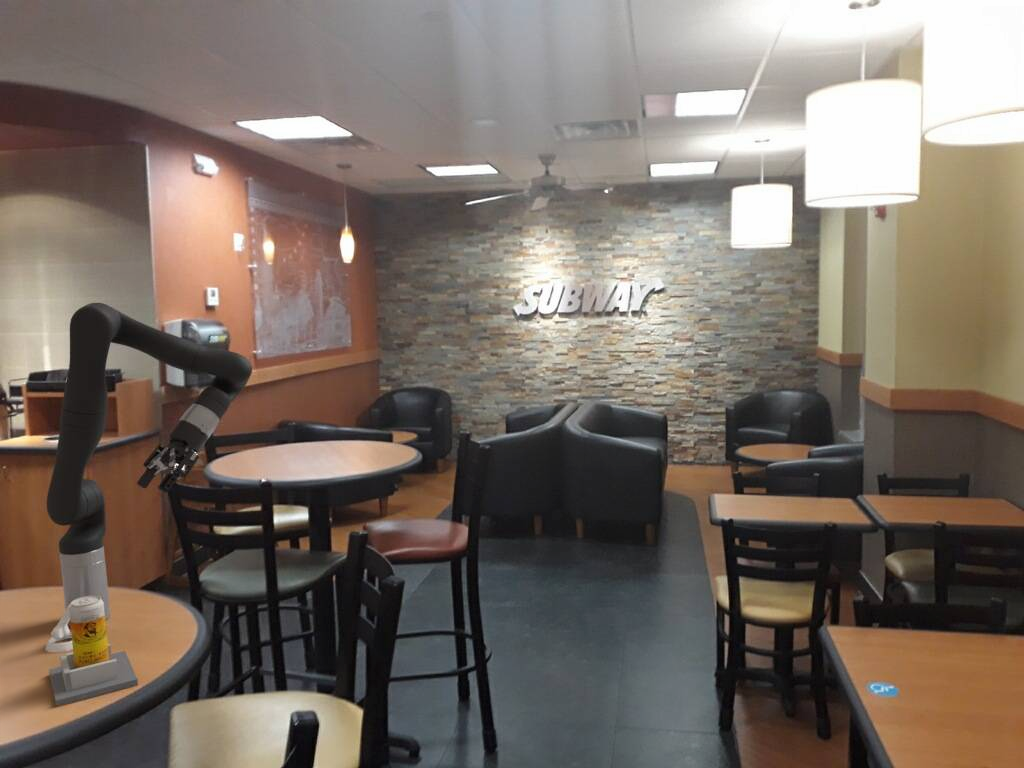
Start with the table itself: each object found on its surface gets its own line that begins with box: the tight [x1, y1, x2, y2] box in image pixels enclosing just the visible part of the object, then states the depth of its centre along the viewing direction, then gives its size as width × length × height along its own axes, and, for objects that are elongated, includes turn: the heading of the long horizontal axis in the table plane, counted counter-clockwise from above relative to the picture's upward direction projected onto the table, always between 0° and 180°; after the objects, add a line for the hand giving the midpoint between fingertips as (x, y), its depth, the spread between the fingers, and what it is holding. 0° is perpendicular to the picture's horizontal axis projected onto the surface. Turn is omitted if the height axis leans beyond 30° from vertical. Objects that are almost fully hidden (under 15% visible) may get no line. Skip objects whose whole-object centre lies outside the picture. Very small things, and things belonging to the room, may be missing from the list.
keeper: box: [48, 643, 139, 708], centre depth 163 cm, size 16×14×5 cm
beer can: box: [69, 596, 109, 669], centre depth 162 cm, size 6×6×15 cm
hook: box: [44, 604, 73, 653], centre depth 180 cm, size 8×12×7 cm
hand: (151, 488), depth 179 cm, fingers open, 8 cm apart
